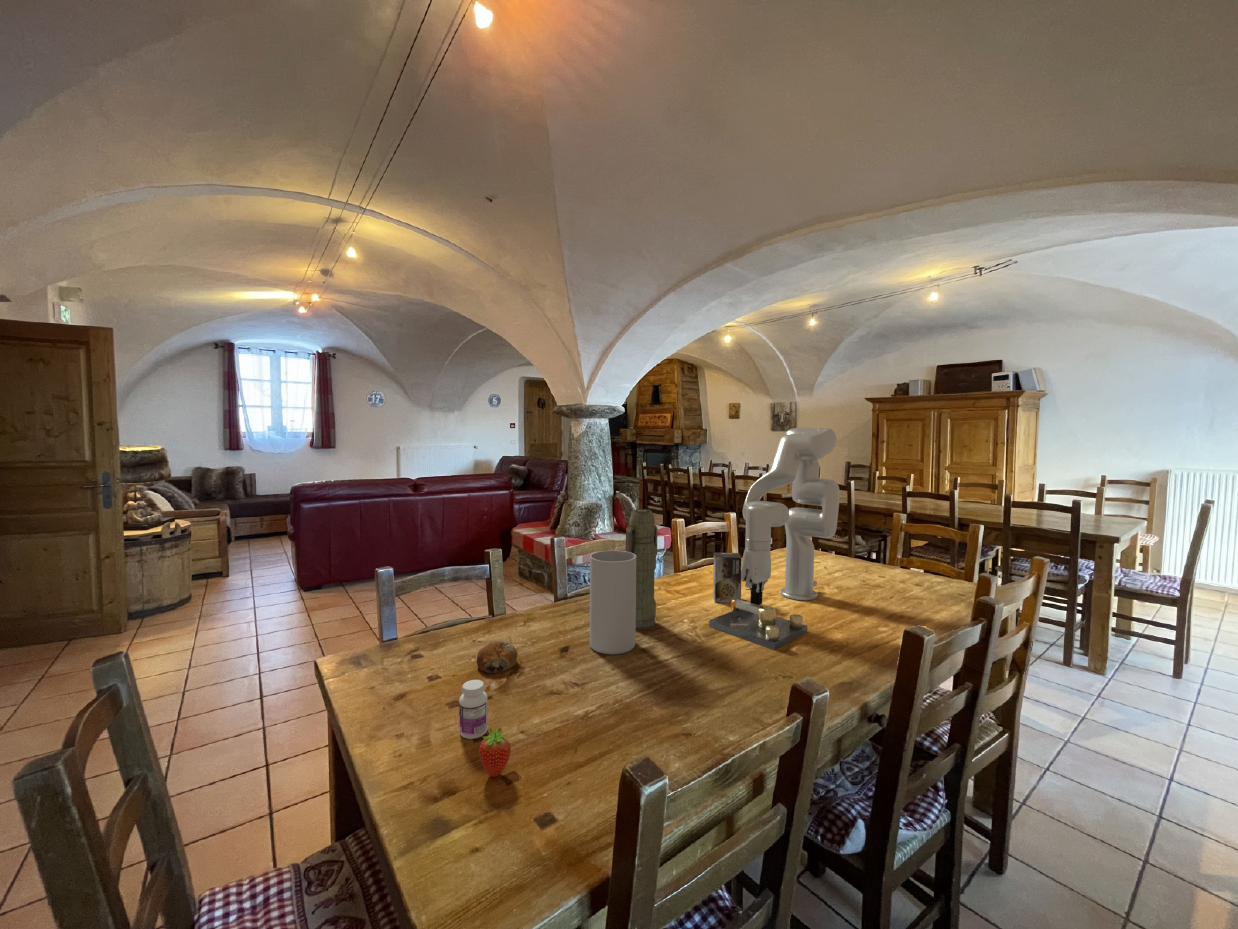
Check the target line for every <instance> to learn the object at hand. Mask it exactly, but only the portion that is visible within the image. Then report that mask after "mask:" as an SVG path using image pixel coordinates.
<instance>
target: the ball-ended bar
mask: <svg viewBox="0 0 1238 929" xmlns="http://www.w3.org/2000/svg"><path fill="white" fill-rule="evenodd" d="M730 604H731V605H730V606H731V610H730V611H739V609H742V610H746V611H749V612H752V613H755V614H758V626H759V627H761V628H765V629H766V626H769V625H772V626H776V616H777V608H775V607H774V606H770V605H769V606H768V605H756V604H752V603H749V602H748V601H745V600H742V599H741V600H738V599H732V603H730Z"/></svg>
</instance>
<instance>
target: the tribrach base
mask: <svg viewBox="0 0 1238 929" xmlns="http://www.w3.org/2000/svg"><path fill="white" fill-rule="evenodd" d="M747 602H749V603H751V602H750V601H747ZM708 621H709V623H708V625H709V628H713V629H716V630H718V631H721V632H723V633H726V634H729V635H732V636H735V637H738V638H740V639H743V640H746V641H749V642H751V643H754V644H757V645H760V646H761V647H764V648H768V649H771V650H774V651H776V650H777V649H779V648H781V647H783V646H784V645H786V644H789V643H791V642H792V641H795V640H796V639H798V638H800V637H802V636H804V635H805V634H807V633H808V628H809V626H808V625H805V624H804V622H803V621H804V617H803V616H802V615H800V614H794V613H793V614H790V615H789V619H786V618H783V617H779V616H777V615H776V626H772V625H769V626H766V629H765V628H761V627H759V626H758V614H755V613H752V612H749V611H746V610H742V609H739V611H732V610H730V611H729V612H726V613H724V614H721V615H719V616H717V617H714V618H711V619H709V620H708Z"/></svg>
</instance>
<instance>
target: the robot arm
mask: <svg viewBox="0 0 1238 929" xmlns="http://www.w3.org/2000/svg"><path fill="white" fill-rule="evenodd" d="M837 442H838V441H837V434H836V431H834V430H833V429H832V428H829V427H793V428H790V429H787V430H786V432H785V434H784V435H783V436H781V438H780V439H779V441H778V444H777V446H776V449H775V452H774V456H773V457H772V458H773V459H772V462H771V465H770V467H769V470H768V471H767V472H766V473H764V474H763V475H762V476H760V478H758V479H757V480H756V481H755V482H753V484H752V485H751V486H750V488H749V489H748V492H747V494H746V496H745V500H744V503H743V506H742V516H743V519H744V521H745V540H744V541H745V543H744V544H745V545H744V546H745V547H744V550H743V555H742V559H741V582H745V585H744V587H745V588H747V589H749V591H750V602H751V603H752V604H755V605H759V606H761V605H762V604H763V592H764V588H765V584H766V583H768V581H769V579H771V575H772V557H771V555H772V554H771V549H772V548H771V546H772V543H771V542H772V541H771V539H772V538H771V537H772V528H776V527H777V528H778V527H782V526H784V529H785V535H786V536H785V539H786V540H785V541H786V544H785V545H786V548H785V549H786V550H785V551H786V552H785V580H784V581H785V583H784V586H785V587H782V588H781V589H780V594H781V595H782V596H783V597H785V598H787V599H790V600H796V601H813V600H816V599H817V598H818V592H817V591H815V590H814V587H815V586H817V585H818V582H817V580H814V578H815V577H814V572H815V571H814V570H815V545H814V543H813V541H812V539H811V537H815V538H822V539H823V538H824V539H830V538H832V537H834V536H835V534H836V532H837V527H838V518H839V508H840V497H841V496H840V494H841V492H840V486H839V484H838V482H837V481H836V480H833V479H829V478H820V462H819V460H822V459H824V457H826V456H828V455H829V454H831V452H833V450H834V449H835V448H836V445H837ZM791 483H792V485H791ZM787 485H791V487H792V488H791V496H792V498H791V499H792V500H793V501H794V502H795V503H797V504H801V505H808V506H810V505H811V506H820V507H821V508H822V509H818V508H817V509H815V508H809V507H791V508H788V506H786V505H785V504H784V503H781V502H774V501H773V502H772V501H768V500H767V501H766V500H765V501H764V500H761V499H762V498H763V496H764V495H766V494H767V493H769V492H771V491H772V490H775V489H777V488H781V487H785V486H787Z"/></svg>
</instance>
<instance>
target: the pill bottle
mask: <svg viewBox="0 0 1238 929" xmlns="http://www.w3.org/2000/svg"><path fill="white" fill-rule="evenodd" d="M484 685H485V684H484V681H482V680H480V679H471V680H467V681H466V682H464V683H463V684H462V691H461V692H462V693H461V695H460V697H459V699H458V710H459V711H458V713H459V714H458V715H459V716H458V718H459V733H460V735H461V737H463V738H465V739H467V740H474V739H478V738H481V737H482V736H484V735H485V734H486V733H487V731H488V729H489V717H488V716H489V710H488V709H489V708H488V703H489V702H488V695H487V693H486V691H485V686H484Z"/></svg>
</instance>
